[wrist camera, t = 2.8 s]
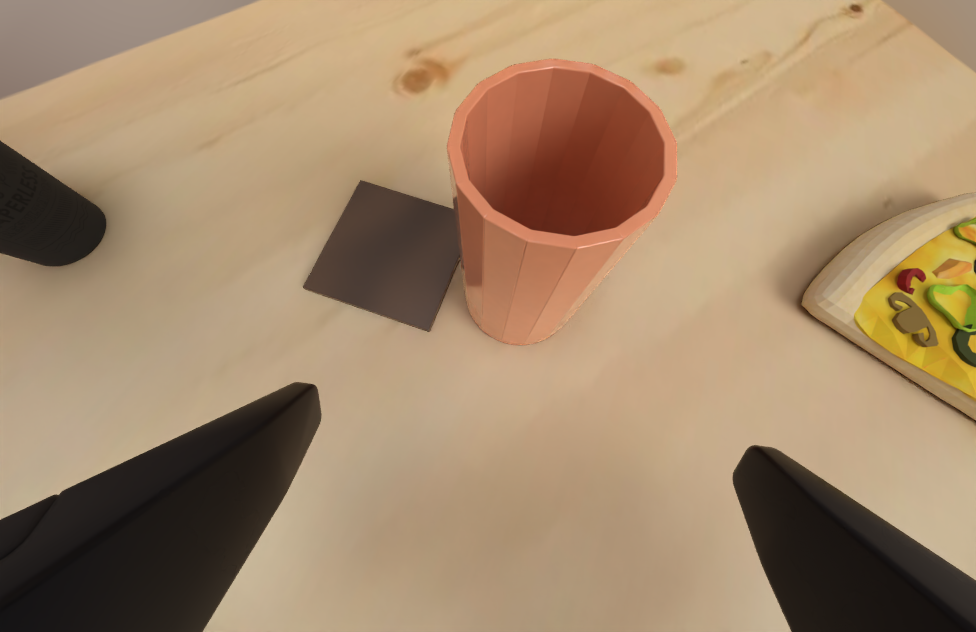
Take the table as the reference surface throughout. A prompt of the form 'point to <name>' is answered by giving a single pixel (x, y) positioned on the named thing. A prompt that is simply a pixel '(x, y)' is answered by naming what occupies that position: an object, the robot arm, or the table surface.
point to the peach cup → (551, 189)
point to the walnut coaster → (389, 256)
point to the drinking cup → (43, 215)
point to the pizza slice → (911, 296)
